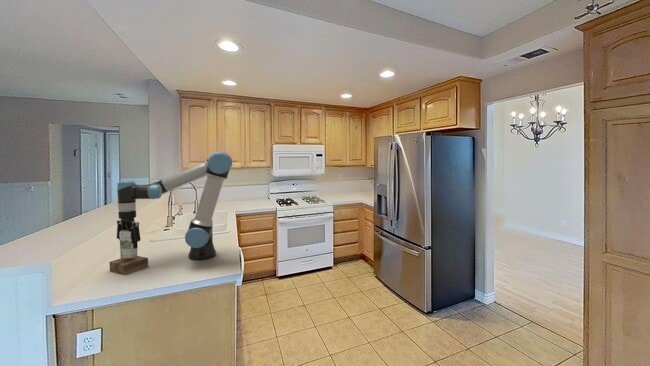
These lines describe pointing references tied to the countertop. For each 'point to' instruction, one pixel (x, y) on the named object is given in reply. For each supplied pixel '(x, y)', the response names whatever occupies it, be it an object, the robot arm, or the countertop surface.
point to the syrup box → (125, 244)
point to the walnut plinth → (128, 265)
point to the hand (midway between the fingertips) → (129, 253)
